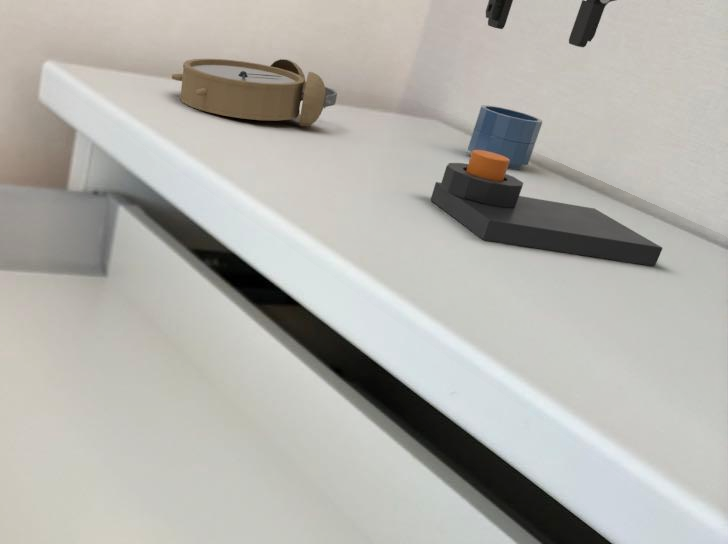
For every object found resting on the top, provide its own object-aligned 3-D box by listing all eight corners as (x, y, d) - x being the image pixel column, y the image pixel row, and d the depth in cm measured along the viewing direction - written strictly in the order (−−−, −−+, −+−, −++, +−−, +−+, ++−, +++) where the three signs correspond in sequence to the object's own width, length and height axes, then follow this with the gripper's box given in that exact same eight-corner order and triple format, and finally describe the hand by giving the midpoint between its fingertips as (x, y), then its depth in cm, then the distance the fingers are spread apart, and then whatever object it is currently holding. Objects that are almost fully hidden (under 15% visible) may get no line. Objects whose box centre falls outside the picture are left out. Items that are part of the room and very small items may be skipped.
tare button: (492, 177, 83) (500, 153, 82) (508, 186, 81) (516, 162, 80) (459, 171, 82) (466, 147, 81) (474, 181, 80) (482, 156, 79)
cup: (509, 158, 110) (525, 112, 107) (536, 174, 105) (553, 125, 102) (456, 149, 108) (471, 101, 106) (481, 164, 103) (497, 115, 101)
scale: (586, 224, 88) (600, 186, 87) (655, 266, 80) (672, 225, 78) (424, 198, 84) (436, 158, 83) (478, 239, 76) (493, 196, 74)
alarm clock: (165, 55, 103) (313, 50, 107) (164, 110, 106) (309, 103, 109) (202, 79, 94) (361, 73, 98) (200, 139, 97) (355, 130, 101)
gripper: (552, -191, 87) (484, 28, 96) (701, -149, 91) (623, 58, 99) (511, -190, 94) (450, 16, 102) (652, -150, 97) (583, 45, 106)
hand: (536, 36), depth 101 cm, fingers open, 8 cm apart
